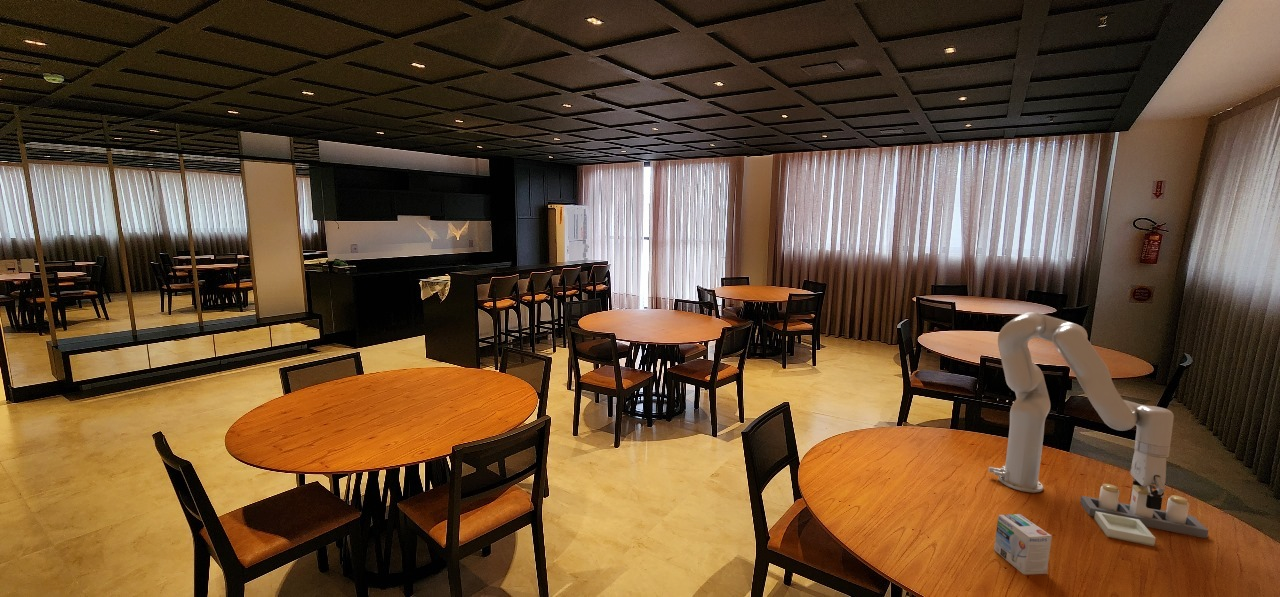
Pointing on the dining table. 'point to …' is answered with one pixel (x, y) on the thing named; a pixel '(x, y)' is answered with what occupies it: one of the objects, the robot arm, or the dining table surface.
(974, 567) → the dining table surface
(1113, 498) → the post
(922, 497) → the dining table surface
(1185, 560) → the dining table surface
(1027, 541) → the light bulb box
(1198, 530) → the holder
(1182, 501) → the post
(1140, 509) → the block
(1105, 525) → the tray
